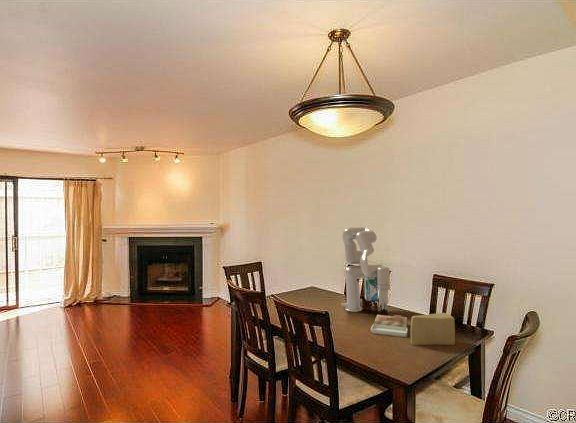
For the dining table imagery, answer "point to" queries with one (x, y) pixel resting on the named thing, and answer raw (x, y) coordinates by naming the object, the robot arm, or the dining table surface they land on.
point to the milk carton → (371, 289)
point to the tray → (389, 330)
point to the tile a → (383, 318)
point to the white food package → (392, 321)
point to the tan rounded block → (432, 329)
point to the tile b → (397, 317)
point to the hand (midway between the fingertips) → (384, 315)
